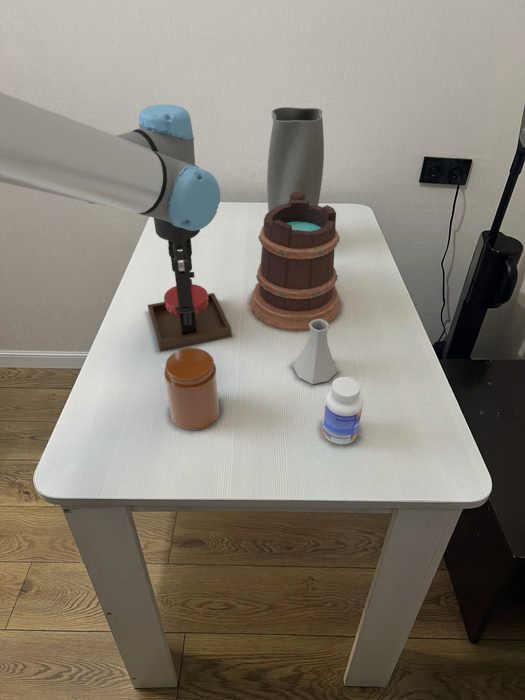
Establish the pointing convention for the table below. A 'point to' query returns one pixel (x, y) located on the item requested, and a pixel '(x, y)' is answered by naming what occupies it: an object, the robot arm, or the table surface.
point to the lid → (198, 299)
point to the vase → (295, 155)
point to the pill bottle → (342, 411)
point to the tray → (207, 325)
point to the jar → (192, 388)
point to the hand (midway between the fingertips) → (188, 321)
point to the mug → (297, 266)
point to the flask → (316, 355)
